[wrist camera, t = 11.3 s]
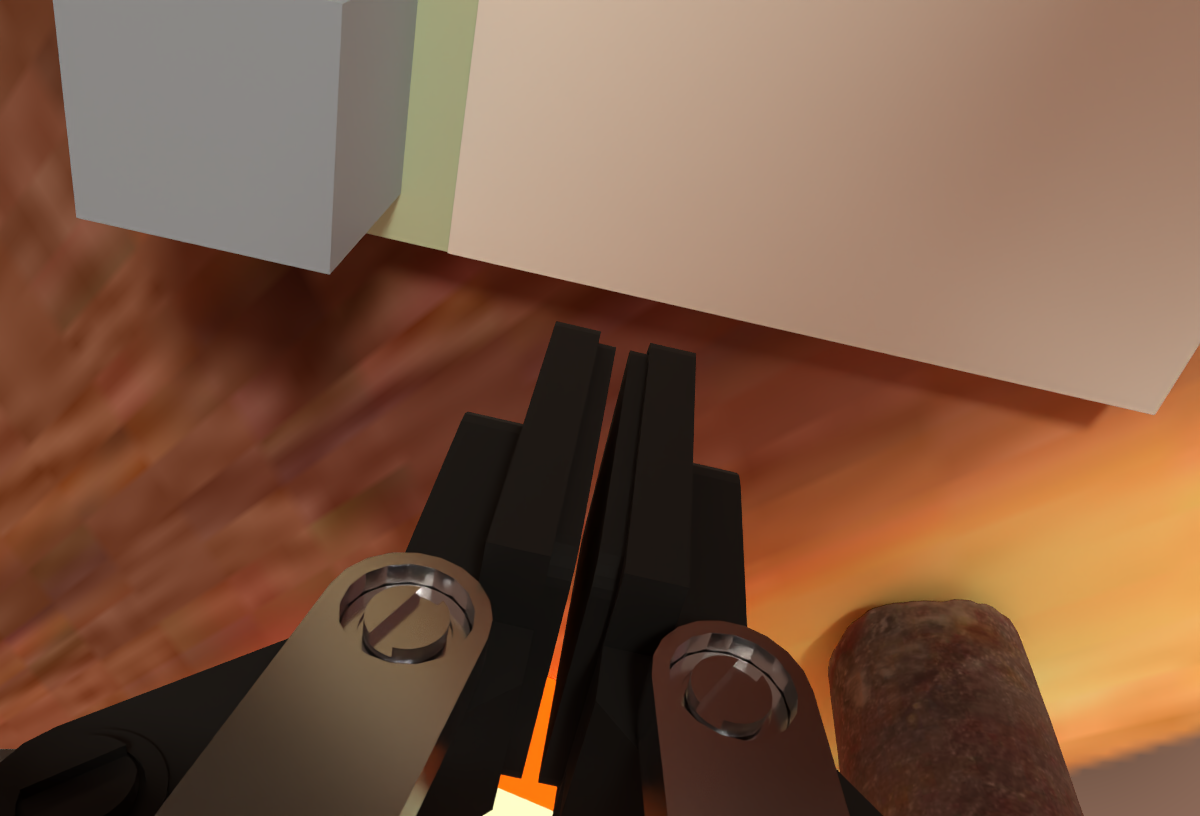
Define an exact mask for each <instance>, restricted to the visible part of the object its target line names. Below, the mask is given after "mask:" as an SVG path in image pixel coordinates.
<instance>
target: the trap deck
mask: <svg viewBox="0 0 1200 816" xmlns="http://www.w3.org/2000/svg"><path fill="white" fill-rule="evenodd" d="M367 234H372V235H376V236H380V237H385V238H389V239H394V240H398V241H402V242H407V243H411V244H415V245H420V246H424V247H429V248H433V249H437V250H442V251H446V252H448V254H453V255H457V256H462V257H466V258H470V259H475V260H479V261H483V262H488V263H492V264H497V265H501V266H505V267H510V268H514V269H518V270H523V271H527V272H531V273H536V274H540V275H545V276H549V277H553V278H558V279H562V280H566V281H571V282H575V283H579V284H584V285H588V286H593V287H597V288H601V289H606V290H610V291H614V292H619V293H623V294H628V295H632V296H636V297H641V298H645V299H649V300H654V301H658V302H662V303H667V304H671V305H676V306H680V307H684V308H689V309H693V310H697V311H702V312H706V313H711V314H715V315H719V316H724V317H728V318H732V319H737V320H741V321H745V322H750V323H754V324H759V325H763V326H767V327H772V328H776V329H780V330H785V331H789V332H793V333H798V334H802V335H807V336H811V337H815V338H820V339H824V340H828V341H833V342H837V343H842V344H846V345H850V346H855V347H859V348H863V349H868V350H872V351H876V352H881V353H885V354H890V355H894V356H898V357H903V358H907V359H911V360H916V361H920V362H925V363H929V364H933V365H938V366H942V367H946V368H951V369H955V370H959V371H964V372H968V373H973V374H977V375H981V376H986V377H990V378H994V379H999V380H1003V381H1007V382H1012V383H1016V384H1021V385H1025V386H1029V387H1034V388H1038V389H1042V390H1047V391H1051V392H1056V393H1060V394H1064V395H1069V396H1073V397H1077V398H1082V399H1086V400H1090V401H1095V402H1099V403H1104V404H1108V405H1112V406H1117V407H1121V408H1125V409H1130V410H1134V411H1139V412H1143V413H1147V414H1152V415H1155V414H1156V413H1157V411H1158V409H1159V408H1160V406H1161V405H1162V403H1163V401H1164V400H1165V398H1166V397H1167V395H1168V393H1169V392H1170V390H1171V389H1172V387H1173V385H1174V384H1175V382H1176V381H1177V379H1178V378H1179V376H1180V374H1181V373H1182V371H1183V370H1184V368H1185V366H1186V365H1187V363H1188V362H1189V360H1190V358H1191V357H1192V355H1193V354H1194V352H1195V351H1196V349H1197V347H1198V346H1199V344H1200V0H418V5H417V16H416V28H415V39H414V50H413V62H412V73H411V84H410V96H409V107H408V118H407V130H406V141H405V152H404V164H403V175H402V186H401V194H400V195H399V196H398V197H397V198H396V200H395V201H394V202H393V203H392V204H391V205H390V206H389V208H388V209H387V210H386V211H385V212H384V213H383V214H382V216H381V217H380V218H379V219H378V220H377V221H376V222H375V224H374V225H373V226H372V227H371V228H370V229H369V230H368V231H367Z"/></svg>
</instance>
